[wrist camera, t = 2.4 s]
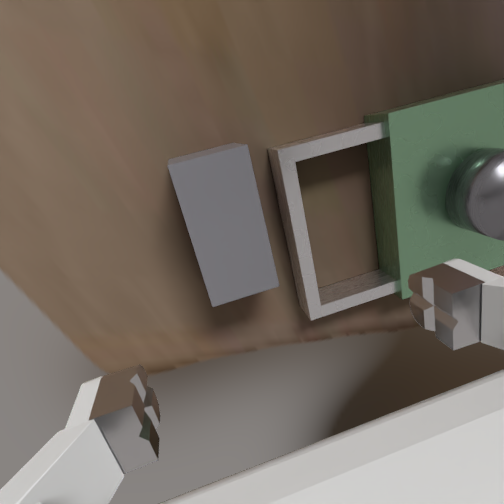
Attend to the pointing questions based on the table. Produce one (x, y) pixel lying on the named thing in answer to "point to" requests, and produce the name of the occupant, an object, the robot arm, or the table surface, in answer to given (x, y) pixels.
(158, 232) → the table surface
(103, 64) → the table surface
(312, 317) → the multicoloured piece
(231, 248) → the grey rectangular cuboid
